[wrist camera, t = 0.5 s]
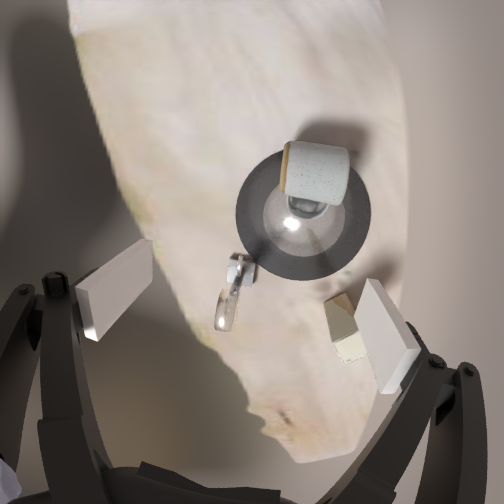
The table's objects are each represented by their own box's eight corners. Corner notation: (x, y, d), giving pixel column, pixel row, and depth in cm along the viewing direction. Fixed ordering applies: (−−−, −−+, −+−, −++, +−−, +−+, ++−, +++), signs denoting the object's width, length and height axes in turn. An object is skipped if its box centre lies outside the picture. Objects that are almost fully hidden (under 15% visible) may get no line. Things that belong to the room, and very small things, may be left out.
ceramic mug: (283, 140, 35) (284, 136, 28) (341, 148, 35) (355, 147, 27) (276, 213, 39) (274, 227, 32) (331, 220, 38) (342, 236, 31)
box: (356, 313, 43) (372, 355, 33) (333, 324, 44) (344, 367, 34) (345, 290, 42) (361, 329, 32) (321, 302, 43) (331, 343, 33)
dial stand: (231, 244, 41) (207, 288, 28) (257, 248, 41) (245, 294, 28) (227, 282, 44) (205, 336, 30) (252, 286, 43) (239, 343, 30)
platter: (245, 138, 36) (245, 138, 36) (380, 164, 35) (381, 164, 35) (229, 268, 43) (228, 269, 42) (351, 288, 42) (352, 288, 41)
